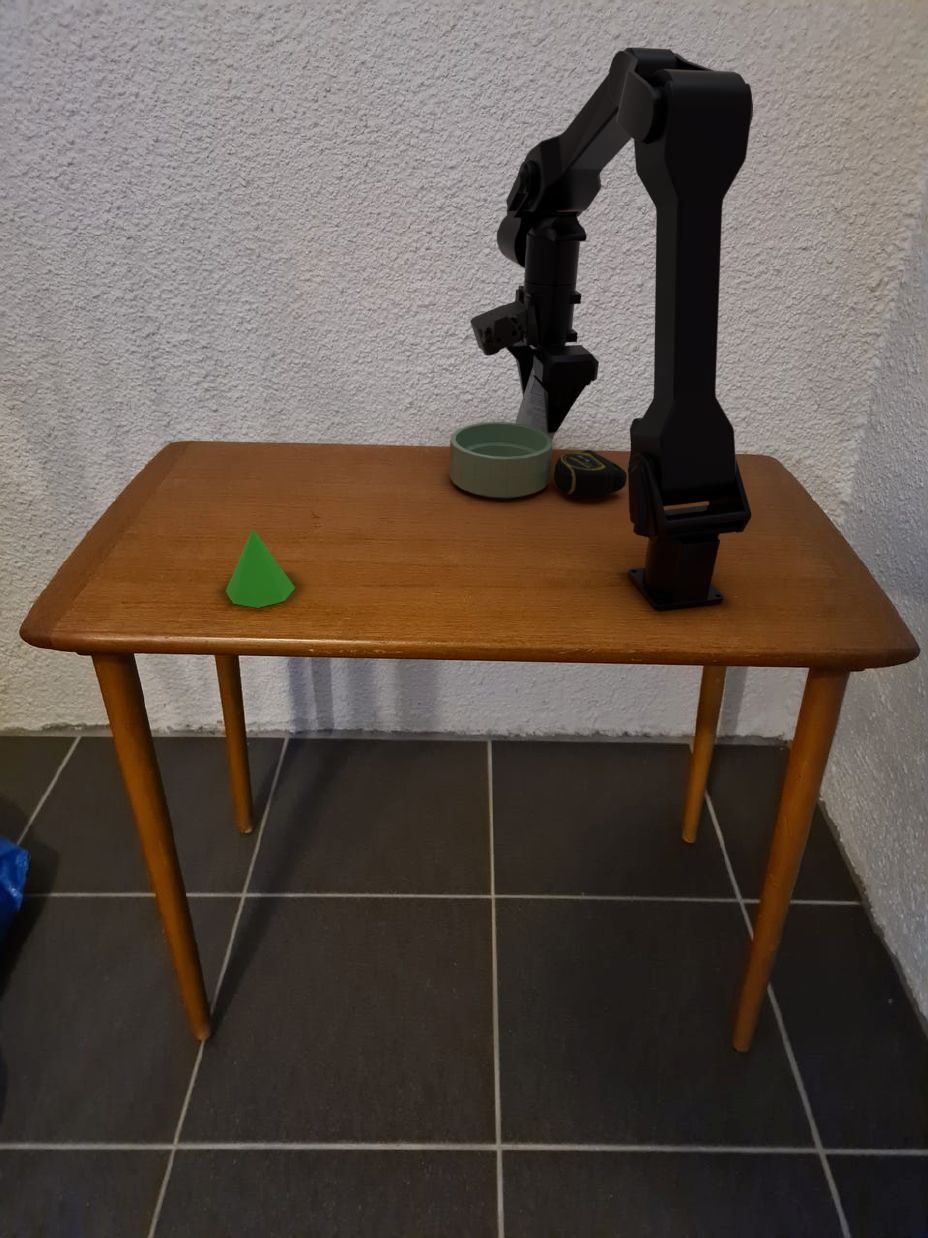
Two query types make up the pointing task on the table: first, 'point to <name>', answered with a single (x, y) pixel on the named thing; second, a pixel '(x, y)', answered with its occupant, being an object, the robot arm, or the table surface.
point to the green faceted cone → (258, 577)
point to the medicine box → (533, 406)
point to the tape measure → (588, 475)
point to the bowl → (500, 459)
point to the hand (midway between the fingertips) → (539, 417)
